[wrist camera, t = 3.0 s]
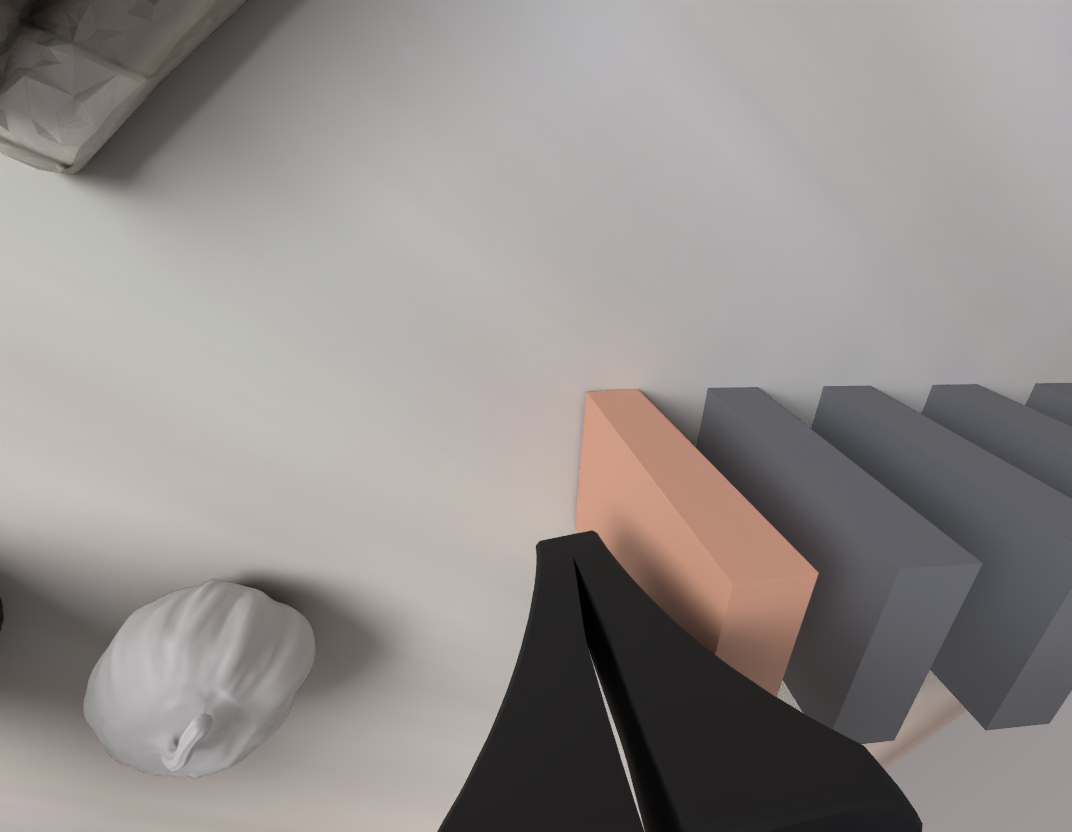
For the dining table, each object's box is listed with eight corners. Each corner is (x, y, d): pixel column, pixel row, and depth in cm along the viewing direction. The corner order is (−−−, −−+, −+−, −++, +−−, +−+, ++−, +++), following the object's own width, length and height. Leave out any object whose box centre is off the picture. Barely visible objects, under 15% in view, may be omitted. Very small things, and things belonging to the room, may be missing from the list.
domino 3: (977, 384, 18) (1329, 541, 10) (925, 506, 20) (1191, 708, 13) (932, 384, 17) (1262, 545, 10) (885, 508, 19) (1132, 714, 12)
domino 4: (870, 385, 17) (1165, 551, 10) (829, 511, 19) (1049, 723, 12) (823, 386, 17) (1091, 555, 10) (787, 513, 19) (986, 730, 12)
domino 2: (757, 387, 17) (982, 563, 9) (727, 516, 19) (894, 740, 12) (708, 387, 16) (900, 568, 9) (683, 518, 18) (824, 748, 11)
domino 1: (637, 389, 16) (818, 573, 9) (620, 520, 18) (756, 753, 11) (586, 391, 16) (732, 584, 9) (574, 525, 18) (685, 769, 11)
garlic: (271, 522, 17) (198, 666, 12) (356, 636, 19) (324, 793, 14) (94, 589, 17) (-46, 757, 12) (201, 694, 19) (118, 867, 15)
